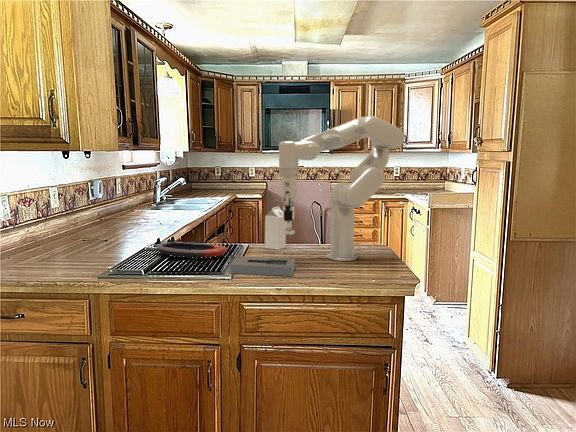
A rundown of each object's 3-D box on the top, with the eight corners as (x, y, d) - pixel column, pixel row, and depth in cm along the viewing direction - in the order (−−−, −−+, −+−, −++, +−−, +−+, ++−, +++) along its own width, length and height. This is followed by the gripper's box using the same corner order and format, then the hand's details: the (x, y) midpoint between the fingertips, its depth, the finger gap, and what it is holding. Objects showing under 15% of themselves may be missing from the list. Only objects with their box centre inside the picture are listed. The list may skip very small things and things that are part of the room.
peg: (295, 232, 173) (295, 205, 172) (294, 235, 168) (294, 207, 167) (283, 232, 174) (283, 205, 172) (281, 234, 169) (281, 207, 167)
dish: (168, 249, 191) (168, 238, 190) (233, 255, 183) (233, 243, 182) (148, 257, 176) (148, 245, 175) (218, 263, 168) (218, 251, 168)
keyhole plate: (294, 267, 165) (295, 258, 164) (291, 276, 152) (291, 267, 151) (238, 264, 167) (238, 256, 166) (230, 273, 154) (230, 264, 154)
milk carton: (264, 248, 196) (265, 207, 194) (272, 245, 203) (272, 205, 200) (278, 250, 193) (278, 208, 190) (285, 247, 199) (286, 206, 197)
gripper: (296, 174, 159) (296, 223, 162) (299, 172, 175) (299, 216, 178) (276, 174, 160) (276, 223, 162) (281, 172, 176) (281, 216, 179)
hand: (288, 219), depth 170 cm, fingers closed on peg, 4 cm apart
